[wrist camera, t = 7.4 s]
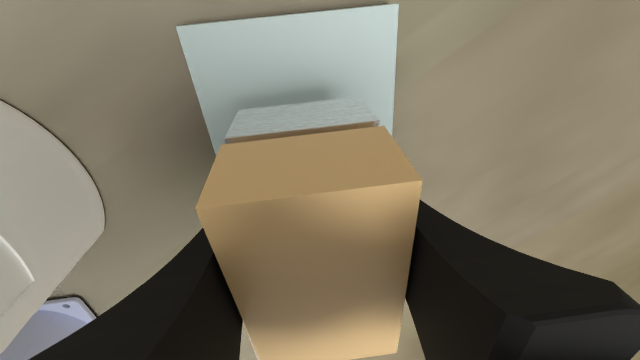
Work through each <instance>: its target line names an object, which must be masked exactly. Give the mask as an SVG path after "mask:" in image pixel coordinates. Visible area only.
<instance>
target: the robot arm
mask: <svg viewBox="0 0 640 360" xmlns="http://www.w3.org/2000/svg"><path fill="white" fill-rule="evenodd" d="M405 298H406V301H407V303H408V306H409V309H410V312H411V315H412V318H413V321H414V324H415V327H416V330H417V333H418V336H419V339H420V343H421V346H422V349H423V352H424V355H425V359H426V360H630V359H631V358H632V357H633V356H634V355H635V354H636V353H637V352H638V351H639V350H640V305H639V304H638V303H637V302H636V301H635V300H633V299H632V298H631V297H630V296H629V295H628V294H626V293H625V292H624V291H623V290H622V289H621V288H619V287H618V286H617V285H616V284H615V283H613V282H612V281H608V280H605V279H601V278H598V277H595V276H591V275H588V274H584V273H581V272H577V271H574V270H570V269H567V268H564V267H560V266H557V265H554V264H552V263H549V262H546V261H543V260H540V259H537V258H534V257H531V256H529V255H526V254H523V253H521V252H518V251H516V250H513V249H511V248H508V247H506V246H504V245H501V244H499V243H497V242H494V241H492V240H490V239H488V238H485V237H483V236H481V235H479V234H477V233H475V232H473V231H471V230H469V229H467V228H465V227H463V226H462V225H460V224H458V223H456V222H454V221H453V220H451V219H449V218H448V217H446V216H444V215H443V214H441V213H439V212H438V211H436V210H435V209H433V208H431V207H430V206H428V205H427V204H426V203H424V202H423V201H421V200H420V201H419V208H418V214H417V221H416V228H415V234H414V241H413V248H412V254H411V261H410V268H409V275H408V281H407V288H406V295H405ZM242 323H243V319H242V317H241V314H240V312H239V310H238V307H237V305H236V303H235V300H234V298H233V296H232V293H231V291H230V289H229V287H228V284H227V282H226V280H225V277H224V275H223V273H222V270H221V268H220V266H219V263H218V261H217V259H216V256H215V254H214V252H213V249H212V247H211V245H210V242H209V240H208V238H207V236H206V233H205V231H204V229H203V228H202V229H201V230H200V232H199V233H198V234H197V235H196V236H195V237H194V238H193V239H192V240H191V241H190V242H189V243H188V244H187V245H186V246H185V247H184V248H183V249H182V250H181V251H180V252H179V253H178V254H177V255H176V256H175V257H174V258H173V259H172V260H171V261H170V262H169V263H168V264H166V265H165V266H164V267H163V268H162V269H161V270H160V271H158V272H157V273H156V274H155V275H154V276H153V277H151V278H150V279H149V280H148V281H146V282H145V283H144V284H142V285H141V286H140V287H139V288H137V289H136V290H135V291H133V292H132V293H131V294H129V295H128V296H127V297H125V298H124V299H123V300H121V301H120V302H119V303H117V304H116V305H115V306H113V307H112V308H110V309H109V310H107V311H106V312H104V313H103V314H101V315H100V316H99V317H97V318H96V316H95V315H94V314H93V313H92V312H91V310H90V309H89V308H88V307H87V306H86V305H85V303H84V302H83V301H82V300H81V299H80V298H76V297H72V298H64V299H57V300H49V301H45V302H44V303H43V305H42V306H41V307H40V308H39V310H38V311H37V312H36V313H35V314H33V315H32V317H31V318H30V319H29V320H28V322H27V323H26V324H25V325H24V327H23V328H22V329H21V330H20V332H19V333H18V334H17V335H16V337H15V338H14V339H13V340H12V341H11V343H10V344H9V345H8V346H7V348H6V349H5V350H4V351H3V352H2V353H1V354H0V360H239V356H240V343H241V331H242Z"/></svg>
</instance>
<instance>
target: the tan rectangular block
mask: <svg viewBox="0 0 640 360" xmlns="http://www.w3.org/2000/svg"><path fill="white" fill-rule="evenodd" d="M422 181H423V180H422V179H421V177H420V176H419V175H418V173H417V172H416V170H415V169H414V167H413V166H412V165H411V163H410V162H409V160H408V159H407V157H406V156H405V155H404V153H403V152H402V150H401V149H400V147H399V146H398V145H397V143H396V142H395V140H394V139H393V137H392V136H391V135H390V133H389V132H388V130H387V129H386V127H385V126H376V127H368V128H359V129H351V130H342V131H334V132H325V133H317V134H308V135H300V136H291V137H283V138H274V139H266V140H257V141H249V142H240V143H232V144H223V145H221V146H220V148H219V151H218V153H217V156H216V158H215V161H214V163H213V166H212V168H211V171H210V173H209V175H208V178H207V180H206V183H205V185H204V188H203V190H202V193H201V195H200V198H199V200H198V203H197V205H196V208H195V210H196V212H197V215H198V217H199V219H200V222H201V224H202V226H203V229H204V231H205V233H206V236H207V238H208V240H209V242H210V245H211V247H212V249H213V252H214V254H215V256H216V259H217V261H218V263H219V266H220V268H221V270H222V273H223V275H224V277H225V280H226V282H227V284H228V287H229V289H230V291H231V293H232V296H233V298H234V300H235V303H236V305H237V307H238V310H239V312H240V314H241V317H242V319H243V321H244V324H245V326H246V328H247V331H248V333H249V335H250V337H251V340H252V342H253V344H254V347H255V349H256V351H257V354H258V356H259V358H260V360H350V359H357V358H364V357H371V356H378V355H385V354H392V353H397V348H398V341H399V335H400V328H401V321H402V315H403V308H404V301H405V295H406V288H407V281H408V275H409V268H410V261H411V254H412V248H413V241H414V234H415V228H416V221H417V214H418V208H419V201H420V194H421V188H422Z"/></svg>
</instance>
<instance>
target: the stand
mask: <svg viewBox="0 0 640 360" xmlns="http://www.w3.org/2000/svg"><path fill="white" fill-rule="evenodd" d="M398 6H399V4H382V5H373V6H363V7H353V8H343V9H334V10H324V11H314V12H304V13H295V14H285V15H275V16H265V17H255V18H246V19H236V20H226V21H216V22H207V23H197V24H187V25H181V26H176V29H177V33H178V36H179V39H180V42H181V45H182V49H183V52H184V55H185V58H186V62H187V65H188V68H189V71H190V74H191V78H192V81H193V84H194V87H195V90H196V94H197V97H198V100H199V103H200V107H201V110H202V113H203V116H204V119H205V123H206V126H207V129H208V132H209V135H210V139H211V142H212V145H213V148H214V151H215V155H216V156H217V153H218V151H219V148H220V146H221V145H223V144H226V143H225V139H224V138H225V136H226V134H227V132H228V130H229V128H230V126H231V124H232V122H233V120H234V118H235V116H236V114H237V112H238V110H244V109H253V108H262V107H271V106H279V105H288V104H297V103H306V102H315V101H323V100H332V99H341V98H350V97H359V96H360V97H361V98H362V99H363V101H364V102H365V103H366V104H367V105H368V107H369V108H370V109H371V110H372V111H373V113H374V114H375V115H376V116H377V118H378V119H379V120H380V126H385V127H386V129H387V130H388V132H389V133H390V135H391V136H392V125H393V105H394V85H395V65H396V46H397V26H398Z"/></svg>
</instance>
